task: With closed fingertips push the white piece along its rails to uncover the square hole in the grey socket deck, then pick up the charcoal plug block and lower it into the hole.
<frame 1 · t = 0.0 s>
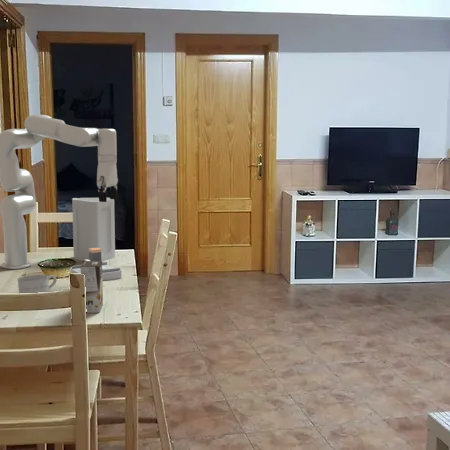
hand: (108, 200, 262), 31 cm above the table, tool pointing down, fingers open, 9 cm apart
teacup: (38, 298, 229), on the table
tall white carton: (94, 259, 295), on the table
plug: (95, 269, 274), on the table
white piece: (95, 264, 261), point 5 cm above the table, slide at 0.0 cm
coffee box: (92, 309, 216), on the table
socket: (95, 276, 261), on the table
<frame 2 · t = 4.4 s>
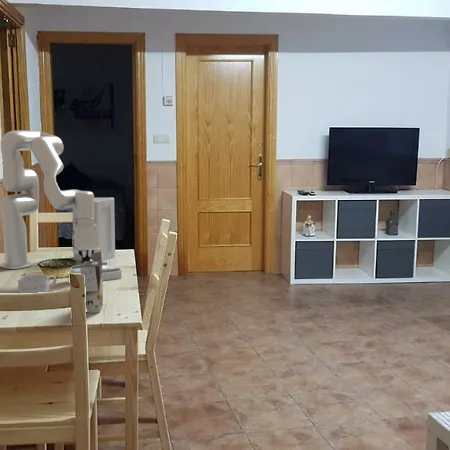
hand: (86, 266, 258), 5 cm above the table, tool pointing down, fingers closed
white piece: (97, 264, 261), point 5 cm above the table, slide at 1.0 cm, touching gripper
everything else where it was.
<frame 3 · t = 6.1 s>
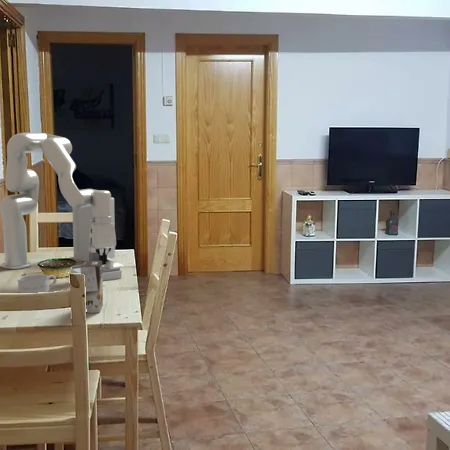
hand: (103, 263, 262), 5 cm above the table, tool pointing down, fingers closed
white piece: (114, 262, 265), point 5 cm above the table, slide at 8.4 cm, touching gripper
everything else where it was.
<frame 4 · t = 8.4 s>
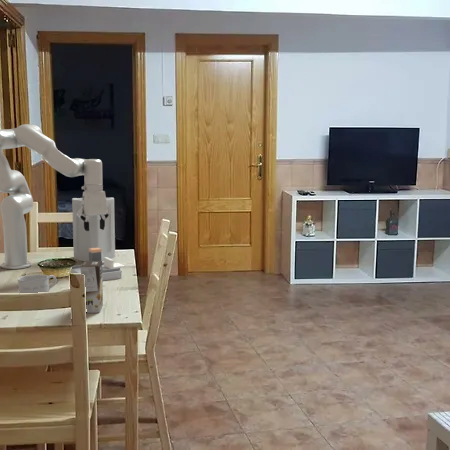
hand: (94, 229, 271), 18 cm above the table, tool pointing down, fingers open, 6 cm apart
white piece: (114, 262, 265), point 5 cm above the table, slide at 8.5 cm
everything else where it was.
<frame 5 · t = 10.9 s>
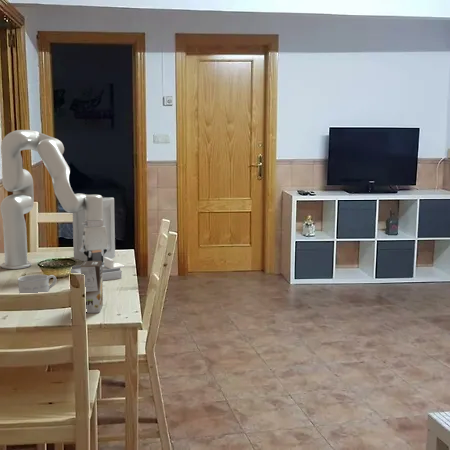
hand: (95, 264, 274), 2 cm above the table, tool pointing down, fingers closed on plug, 4 cm apart
plug: (95, 269, 274), on the table, touching gripper
everything else where it was.
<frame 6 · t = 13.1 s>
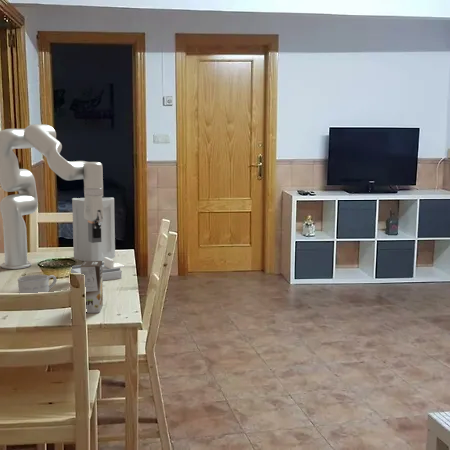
hand: (94, 236, 259), 17 cm above the table, tool pointing down, fingers closed on plug, 4 cm apart
plug: (95, 241, 259), point 15 cm above the table, touching gripper
everything else where it was.
when the fingers open (4 cm above the table, at t = 15.2 s): plug drops 1 cm, resting in socket.
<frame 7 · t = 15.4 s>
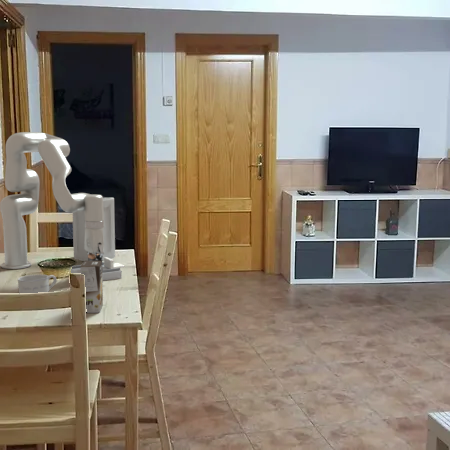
hand: (95, 267, 261), 4 cm above the table, tool pointing down, fingers open, 6 cm apart
plug: (95, 276, 261), resting in socket
everything else where it was.
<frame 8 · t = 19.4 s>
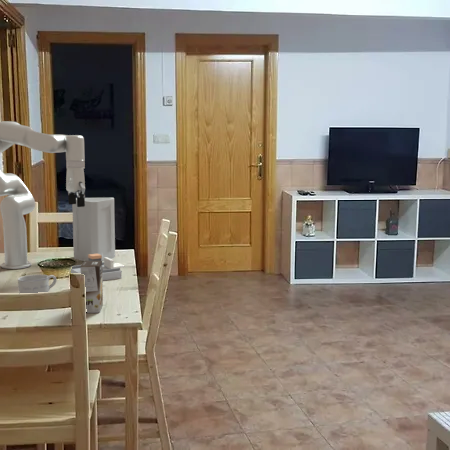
hand: (76, 205, 267), 28 cm above the table, tool pointing down, fingers open, 9 cm apart
nothing on the table moved.
at the end: white piece slide at 8.5 cm; plug 0.1 cm off-centre on the socket, point 0.0 cm above the socket's base; the gripper is holding nothing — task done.
